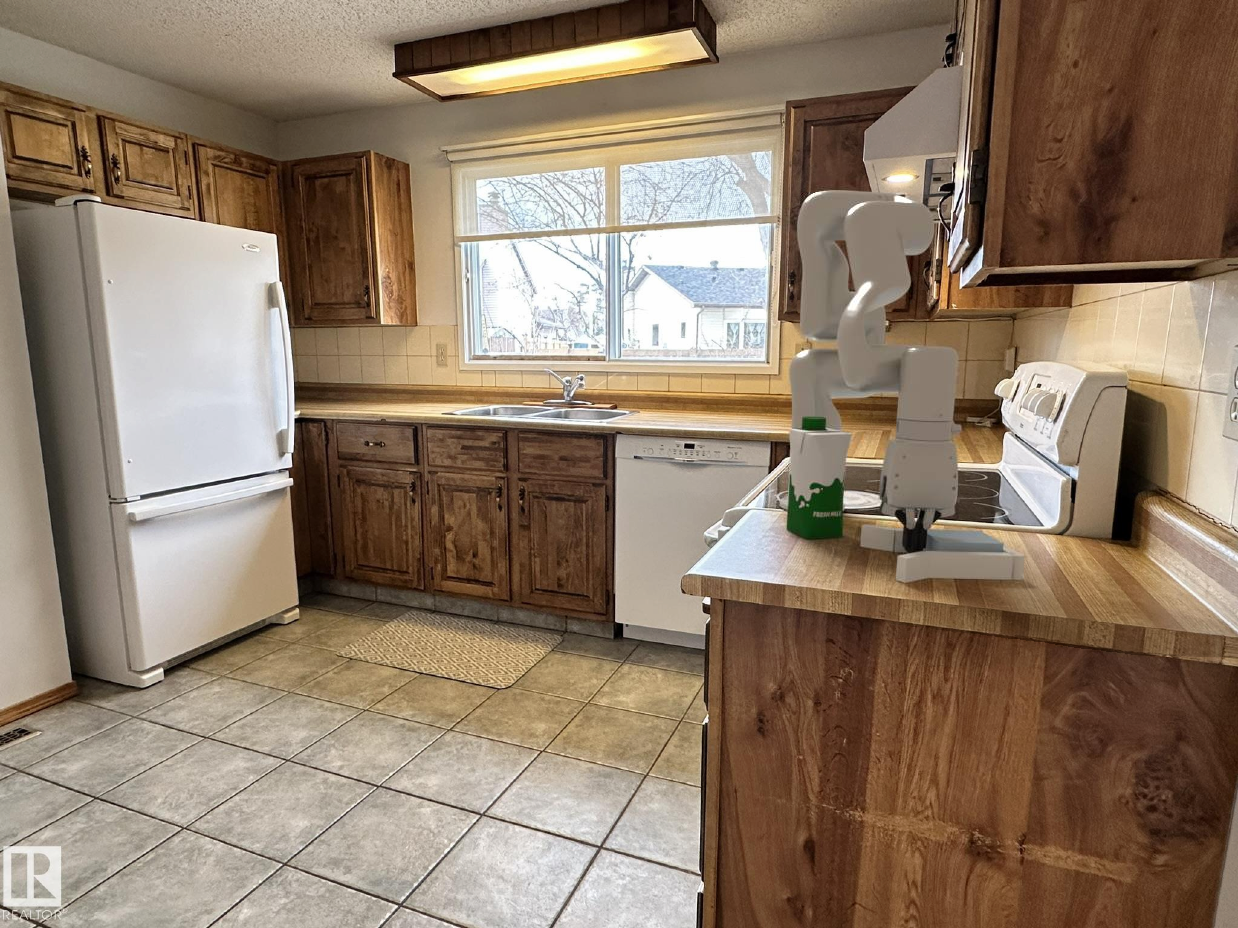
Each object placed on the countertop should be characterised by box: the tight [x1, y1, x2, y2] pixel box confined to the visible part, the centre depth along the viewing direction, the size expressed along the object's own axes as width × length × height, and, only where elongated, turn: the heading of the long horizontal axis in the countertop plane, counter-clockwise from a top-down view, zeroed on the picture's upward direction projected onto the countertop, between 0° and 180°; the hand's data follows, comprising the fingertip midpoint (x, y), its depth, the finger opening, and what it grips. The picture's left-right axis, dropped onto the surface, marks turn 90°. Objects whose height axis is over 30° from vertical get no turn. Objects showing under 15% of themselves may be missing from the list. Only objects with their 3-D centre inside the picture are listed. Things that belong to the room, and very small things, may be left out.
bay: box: [860, 523, 1025, 584], centre depth 105 cm, size 19×18×4 cm
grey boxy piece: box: [923, 529, 1005, 553], centre depth 104 cm, size 8×9×4 cm
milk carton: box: [785, 417, 853, 540], centre depth 119 cm, size 9×9×20 cm
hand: (913, 552), depth 104 cm, fingers closed
